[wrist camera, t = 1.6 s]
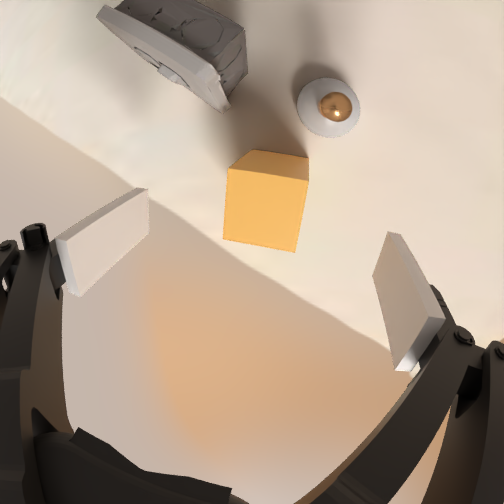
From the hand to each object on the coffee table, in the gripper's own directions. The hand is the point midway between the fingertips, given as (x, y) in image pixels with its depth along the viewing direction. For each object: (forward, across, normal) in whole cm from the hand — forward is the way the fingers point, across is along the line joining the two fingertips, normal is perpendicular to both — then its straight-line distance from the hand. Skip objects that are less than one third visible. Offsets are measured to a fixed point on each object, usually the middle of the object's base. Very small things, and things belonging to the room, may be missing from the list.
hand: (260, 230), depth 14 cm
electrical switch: (+9, -7, +10) cm, 15 cm away
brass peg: (+7, +3, +7) cm, 10 cm away
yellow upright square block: (+9, 0, 0) cm, 9 cm away
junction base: (+9, +3, +7) cm, 11 cm away
